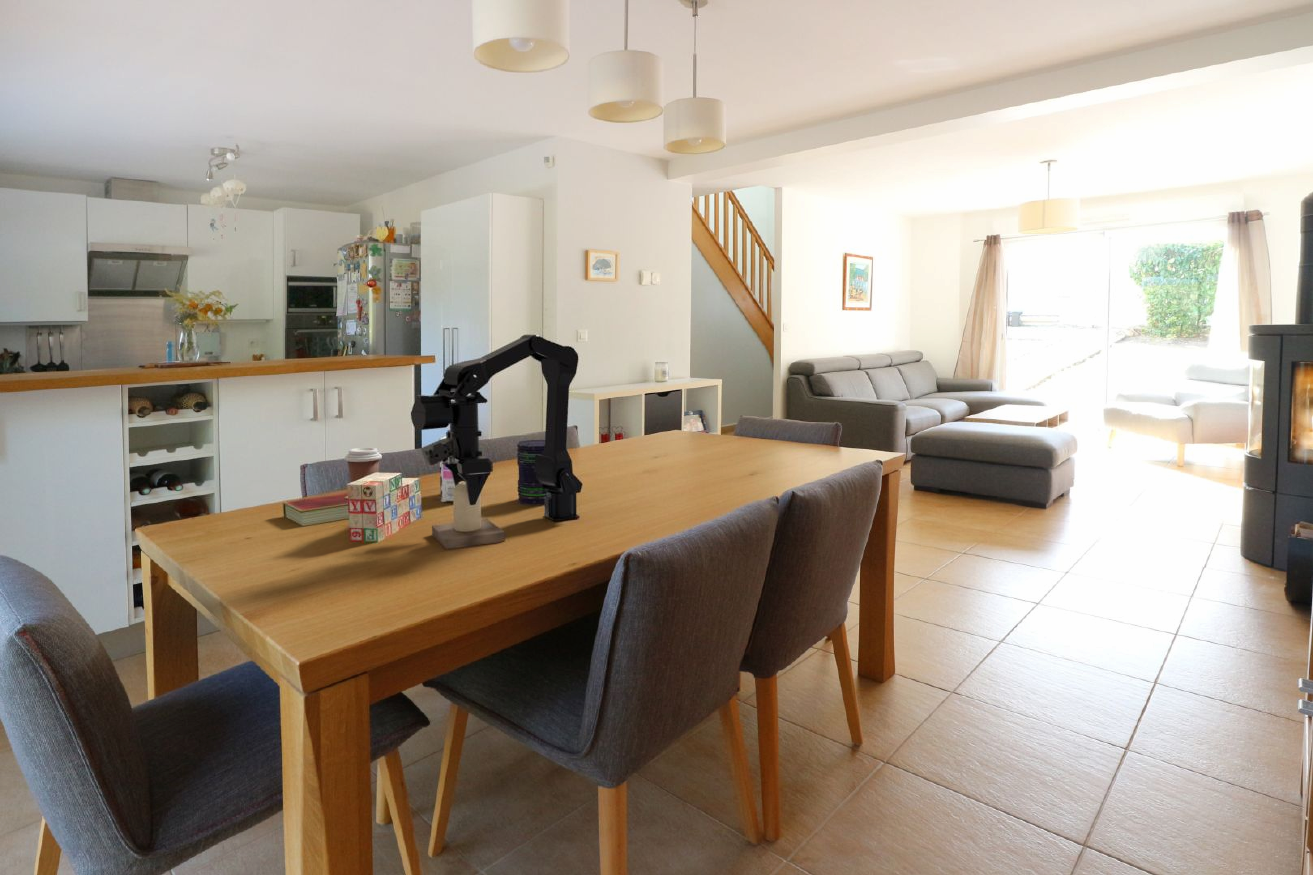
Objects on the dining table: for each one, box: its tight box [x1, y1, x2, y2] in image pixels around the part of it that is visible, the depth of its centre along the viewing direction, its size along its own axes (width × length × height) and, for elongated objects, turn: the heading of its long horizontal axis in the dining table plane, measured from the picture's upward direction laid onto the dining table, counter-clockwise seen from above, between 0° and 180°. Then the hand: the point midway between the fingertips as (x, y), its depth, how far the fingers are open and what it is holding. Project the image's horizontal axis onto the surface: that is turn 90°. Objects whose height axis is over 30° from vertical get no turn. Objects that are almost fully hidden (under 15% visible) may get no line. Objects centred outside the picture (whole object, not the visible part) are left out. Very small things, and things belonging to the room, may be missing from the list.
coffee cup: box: [344, 446, 383, 483], centre depth 197 cm, size 9×9×12 cm
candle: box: [452, 481, 482, 532], centre depth 157 cm, size 6×6×10 cm
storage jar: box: [516, 439, 548, 506], centre depth 191 cm, size 10×10×15 cm
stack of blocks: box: [346, 472, 423, 543], centre depth 165 cm, size 21×6×12 cm, turn 173°
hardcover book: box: [282, 492, 349, 527], centre depth 178 cm, size 12×21×4 cm, turn 134°
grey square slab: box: [431, 518, 506, 550], centre depth 158 cm, size 12×12×2 cm
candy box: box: [438, 435, 455, 503], centre depth 195 cm, size 14×6×16 cm, turn 179°
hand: (466, 500), depth 157 cm, fingers open, 9 cm apart
